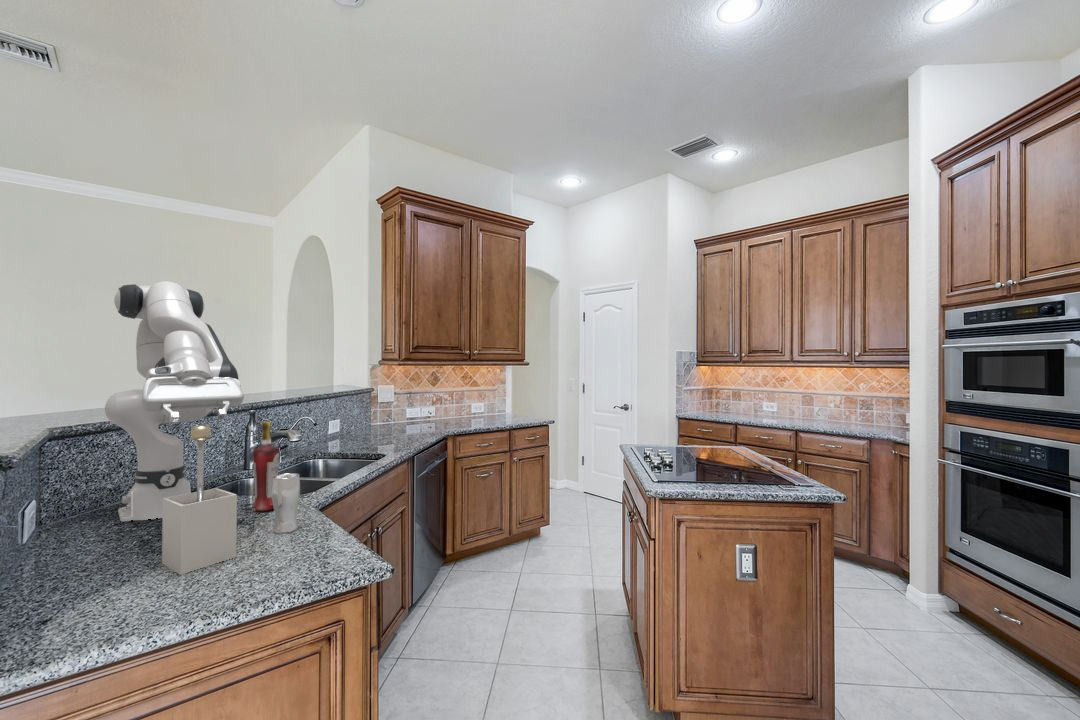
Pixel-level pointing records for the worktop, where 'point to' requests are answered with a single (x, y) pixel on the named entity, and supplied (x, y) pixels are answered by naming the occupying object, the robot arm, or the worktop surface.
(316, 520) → the worktop surface
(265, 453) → the liquor
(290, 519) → the beer glass
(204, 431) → the plunger
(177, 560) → the beige open box
